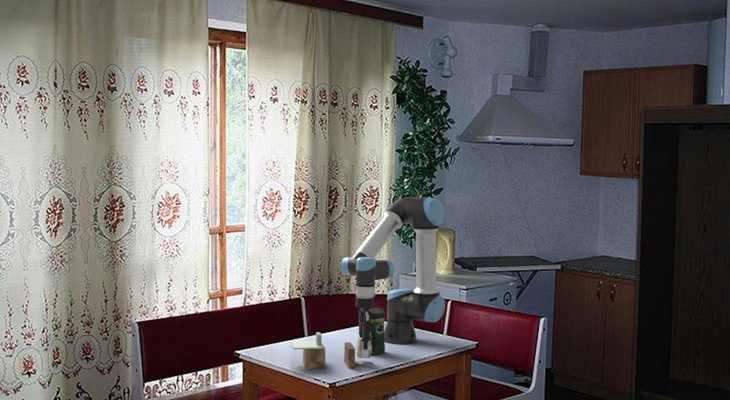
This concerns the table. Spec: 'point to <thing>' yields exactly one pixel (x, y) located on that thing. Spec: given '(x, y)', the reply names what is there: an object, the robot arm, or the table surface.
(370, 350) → the block
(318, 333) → the cover
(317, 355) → the brown and beige stand
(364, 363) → the grey round disc
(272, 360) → the table surface
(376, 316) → the coffee jar
